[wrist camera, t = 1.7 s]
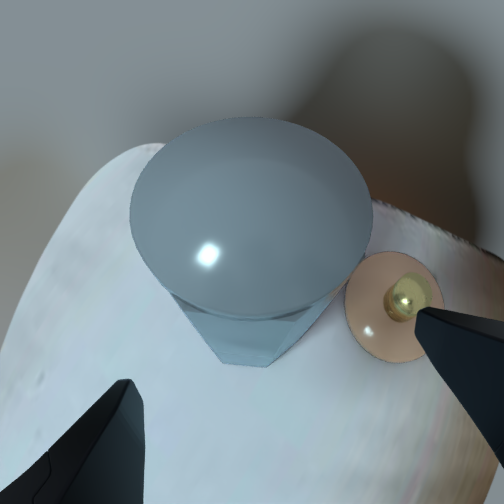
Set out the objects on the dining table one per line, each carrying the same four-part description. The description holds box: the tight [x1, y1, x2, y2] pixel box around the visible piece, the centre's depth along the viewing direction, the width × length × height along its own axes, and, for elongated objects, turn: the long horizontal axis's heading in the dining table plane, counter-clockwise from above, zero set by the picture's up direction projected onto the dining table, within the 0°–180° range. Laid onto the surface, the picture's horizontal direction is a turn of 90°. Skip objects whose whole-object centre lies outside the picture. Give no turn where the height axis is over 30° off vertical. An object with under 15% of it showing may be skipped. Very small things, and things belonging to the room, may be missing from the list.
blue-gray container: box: [130, 117, 373, 367], centre depth 14 cm, size 7×7×13 cm
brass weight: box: [383, 272, 432, 323], centre depth 19 cm, size 3×3×2 cm
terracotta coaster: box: [344, 252, 444, 363], centre depth 20 cm, size 9×9×1 cm
